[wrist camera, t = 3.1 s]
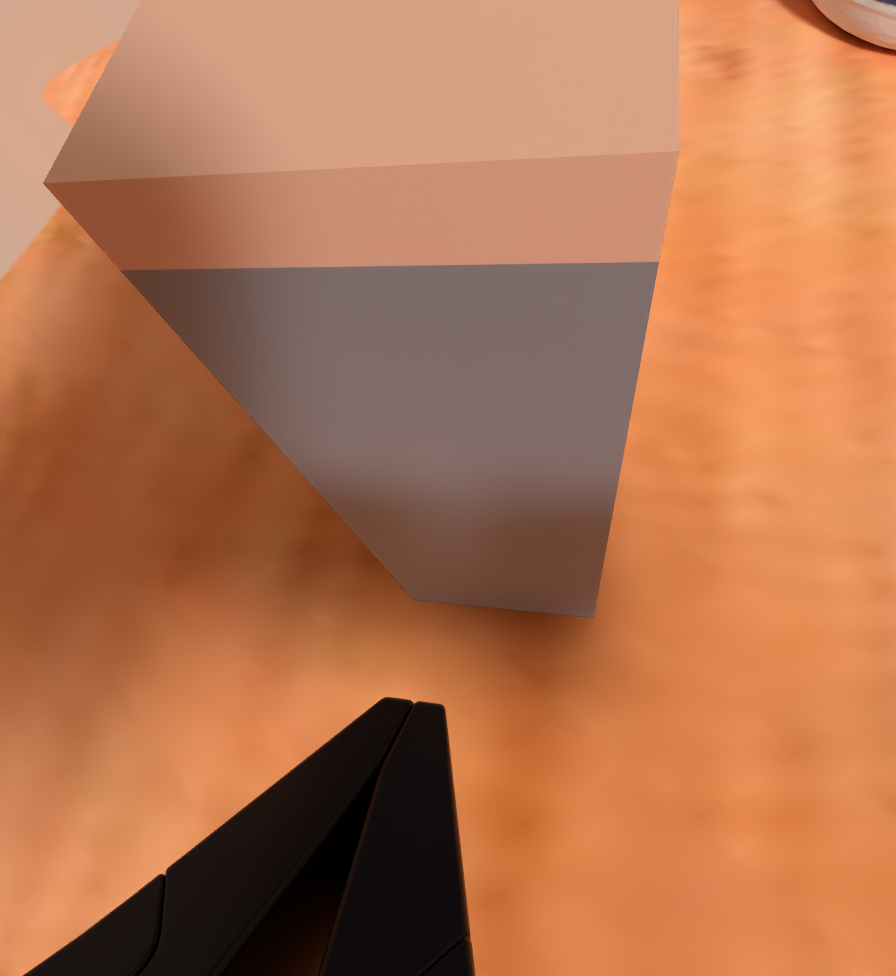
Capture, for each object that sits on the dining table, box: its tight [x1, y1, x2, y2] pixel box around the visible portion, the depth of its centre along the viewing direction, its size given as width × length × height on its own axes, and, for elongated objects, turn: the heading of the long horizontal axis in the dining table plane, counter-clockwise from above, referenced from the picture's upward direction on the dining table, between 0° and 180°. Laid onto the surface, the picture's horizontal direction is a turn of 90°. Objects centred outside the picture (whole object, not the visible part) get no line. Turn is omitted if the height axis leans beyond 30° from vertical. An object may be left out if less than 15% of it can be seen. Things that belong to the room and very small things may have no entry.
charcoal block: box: [43, 0, 679, 618], centre depth 12 cm, size 5×5×14 cm
